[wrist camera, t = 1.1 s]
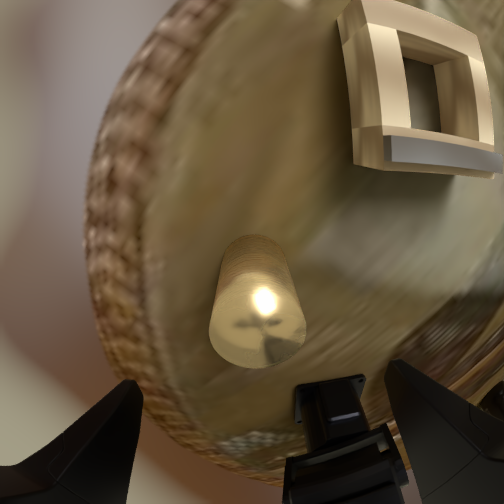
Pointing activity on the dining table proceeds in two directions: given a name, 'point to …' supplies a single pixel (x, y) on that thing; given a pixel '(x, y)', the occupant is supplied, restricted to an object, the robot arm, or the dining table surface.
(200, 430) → the dining table surface
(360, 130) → the jig
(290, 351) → the gold metal cylinder
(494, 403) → the supplement bottle
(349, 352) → the dining table surface
